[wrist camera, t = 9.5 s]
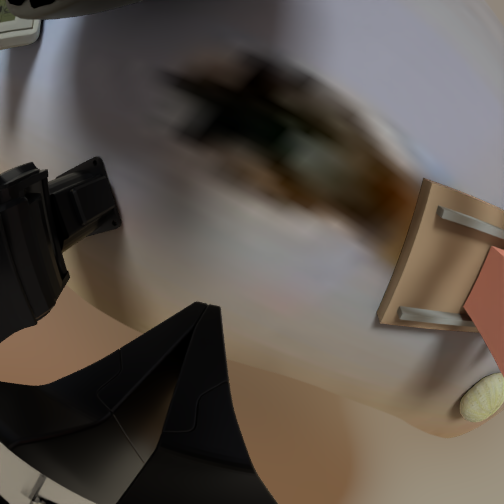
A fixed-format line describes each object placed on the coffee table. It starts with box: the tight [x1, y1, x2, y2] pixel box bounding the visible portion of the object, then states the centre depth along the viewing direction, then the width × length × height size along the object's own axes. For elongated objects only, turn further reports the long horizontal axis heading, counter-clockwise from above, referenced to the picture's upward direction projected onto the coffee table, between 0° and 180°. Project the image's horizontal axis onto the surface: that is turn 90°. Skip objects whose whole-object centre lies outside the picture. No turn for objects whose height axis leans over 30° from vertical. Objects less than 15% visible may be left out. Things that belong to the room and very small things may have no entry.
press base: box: [377, 178, 504, 333], centre depth 16 cm, size 18×12×6 cm, turn 82°
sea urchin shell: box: [460, 373, 504, 422], centre depth 24 cm, size 9×8×8 cm
